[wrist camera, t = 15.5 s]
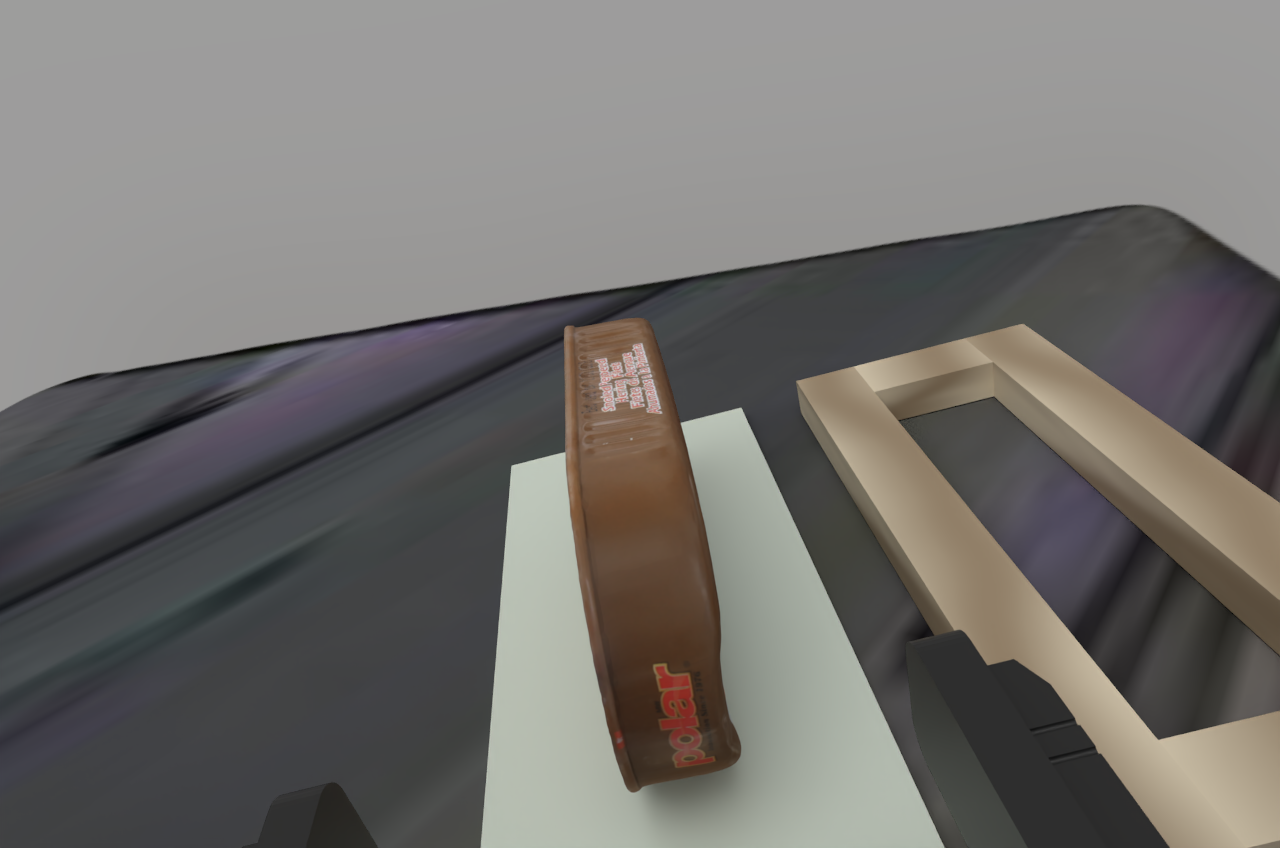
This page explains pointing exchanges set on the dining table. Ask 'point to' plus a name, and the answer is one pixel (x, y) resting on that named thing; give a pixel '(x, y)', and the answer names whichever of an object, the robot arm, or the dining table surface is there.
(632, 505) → the tin
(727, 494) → the mat
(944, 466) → the dining table surface
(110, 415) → the dining table surface
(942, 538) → the slot holder
